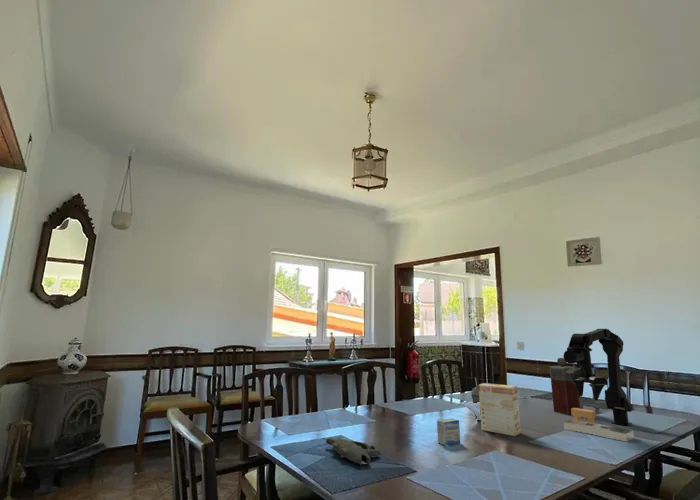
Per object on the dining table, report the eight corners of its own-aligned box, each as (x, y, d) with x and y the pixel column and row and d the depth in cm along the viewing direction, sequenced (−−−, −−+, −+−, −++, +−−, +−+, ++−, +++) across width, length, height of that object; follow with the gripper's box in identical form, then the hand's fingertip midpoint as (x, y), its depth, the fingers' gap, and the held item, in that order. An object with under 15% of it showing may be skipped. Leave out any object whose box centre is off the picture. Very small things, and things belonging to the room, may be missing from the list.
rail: (572, 426, 178) (572, 419, 179) (634, 438, 159) (633, 430, 160) (564, 429, 173) (563, 421, 174) (626, 441, 155) (625, 433, 155)
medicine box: (445, 446, 150) (444, 422, 152) (437, 443, 154) (436, 420, 156) (460, 443, 154) (459, 420, 156) (452, 440, 158) (451, 417, 159)
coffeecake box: (521, 433, 167) (517, 385, 171) (515, 436, 162) (511, 387, 166) (487, 427, 178) (484, 382, 181) (480, 430, 172) (477, 384, 176)
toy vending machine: (584, 413, 203) (577, 357, 208) (568, 415, 199) (562, 358, 204) (568, 409, 211) (563, 356, 216) (553, 411, 207) (548, 357, 212)
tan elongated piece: (353, 452, 128) (391, 451, 135) (323, 432, 150) (356, 432, 156) (352, 469, 127) (390, 467, 133) (321, 446, 149) (355, 445, 155)
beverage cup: (489, 421, 186) (486, 378, 190) (473, 421, 188) (470, 378, 191) (487, 418, 193) (484, 376, 197) (472, 417, 195) (469, 376, 199)
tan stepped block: (575, 422, 185) (574, 407, 186) (596, 426, 178) (594, 411, 179) (572, 423, 183) (570, 408, 184) (593, 427, 176) (591, 412, 177)
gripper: (554, 360, 184) (558, 395, 181) (582, 365, 165) (587, 403, 163) (575, 359, 185) (580, 394, 182) (605, 364, 167) (611, 402, 164)
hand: (588, 398), depth 173 cm, fingers open, 9 cm apart
